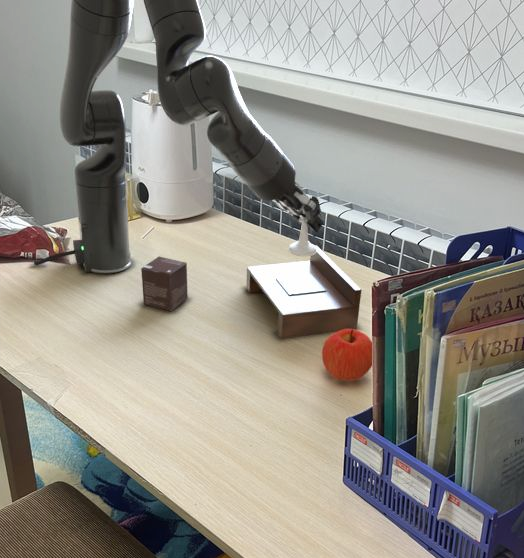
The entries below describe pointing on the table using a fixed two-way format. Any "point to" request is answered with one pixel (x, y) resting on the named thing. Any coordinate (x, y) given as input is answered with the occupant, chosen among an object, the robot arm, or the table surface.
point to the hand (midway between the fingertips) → (313, 224)
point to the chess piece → (303, 242)
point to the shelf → (308, 295)
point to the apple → (347, 354)
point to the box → (164, 283)
